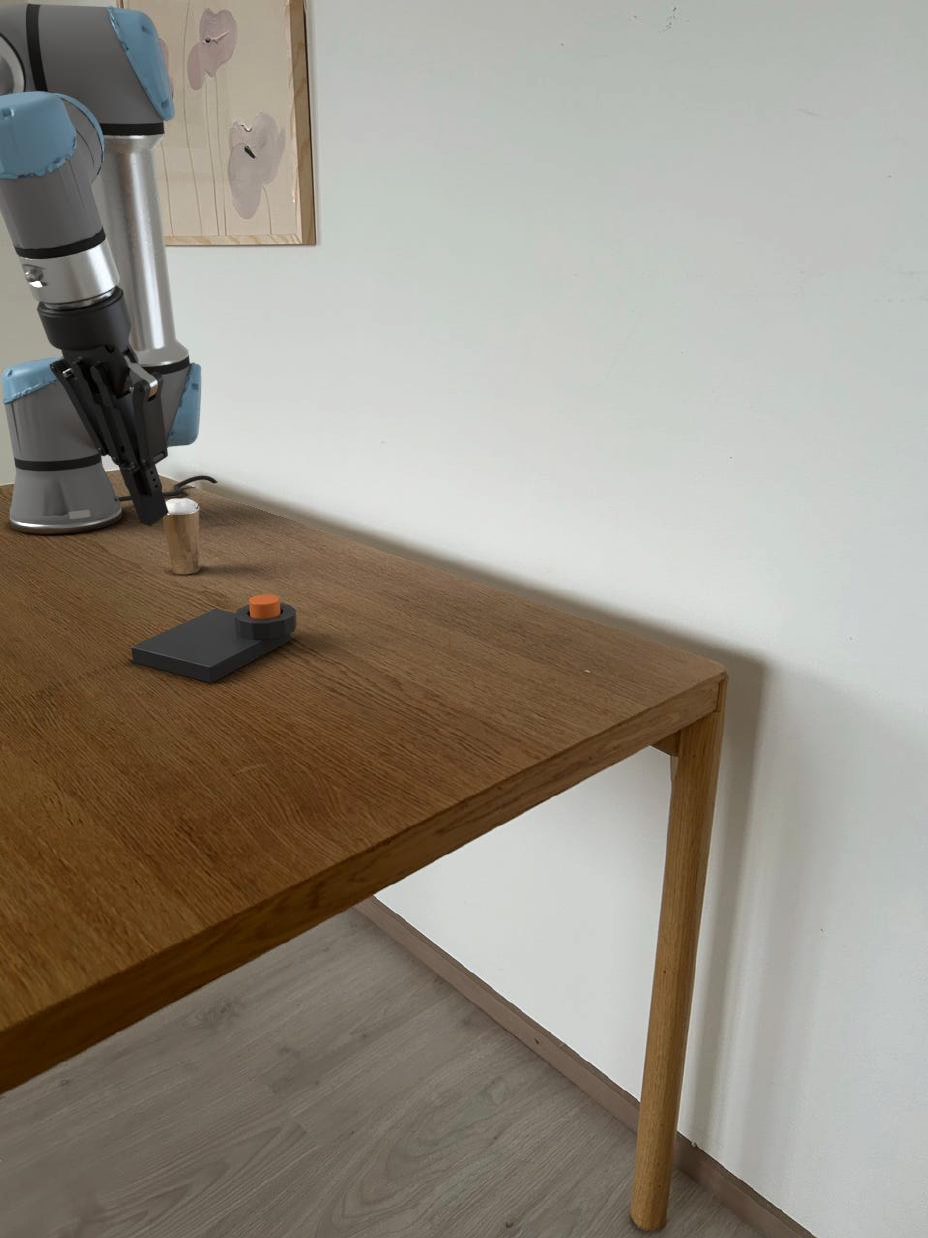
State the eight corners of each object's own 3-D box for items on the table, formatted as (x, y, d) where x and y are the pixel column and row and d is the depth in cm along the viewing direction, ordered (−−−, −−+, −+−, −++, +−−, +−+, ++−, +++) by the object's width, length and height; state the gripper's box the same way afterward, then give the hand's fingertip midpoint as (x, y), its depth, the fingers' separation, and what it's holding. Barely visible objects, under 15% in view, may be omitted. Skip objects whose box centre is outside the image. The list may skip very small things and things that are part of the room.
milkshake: (201, 578, 117) (193, 498, 113) (161, 575, 118) (151, 495, 114) (217, 566, 121) (210, 489, 117) (178, 564, 122) (170, 487, 118)
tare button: (263, 608, 98) (262, 592, 97) (286, 613, 97) (285, 597, 96) (244, 617, 96) (242, 601, 95) (267, 622, 94) (266, 606, 94)
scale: (222, 620, 103) (220, 589, 102) (308, 639, 98) (306, 608, 97) (132, 662, 93) (128, 629, 92) (223, 686, 88) (220, 651, 87)
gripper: (-4, 299, 85) (84, 522, 100) (97, 319, 79) (174, 552, 94) (61, 270, 89) (136, 486, 104) (161, 287, 84) (225, 513, 99)
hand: (154, 517), depth 99 cm, fingers closed
